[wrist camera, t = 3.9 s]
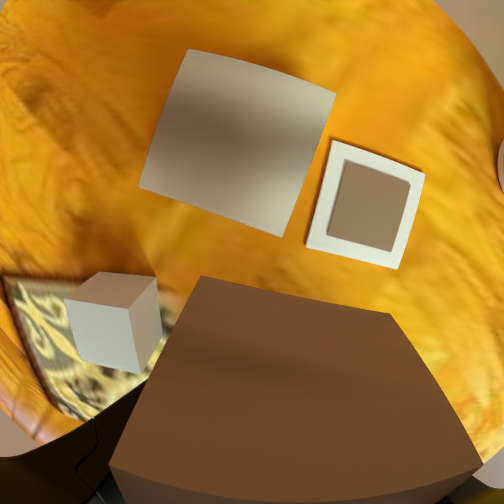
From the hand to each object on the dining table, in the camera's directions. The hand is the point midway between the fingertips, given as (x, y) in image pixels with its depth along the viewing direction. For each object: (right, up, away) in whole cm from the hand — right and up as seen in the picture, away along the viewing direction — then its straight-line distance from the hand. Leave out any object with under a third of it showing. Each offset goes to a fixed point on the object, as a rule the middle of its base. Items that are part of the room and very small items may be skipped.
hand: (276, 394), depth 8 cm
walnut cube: (0, 0, +1) cm, 1 cm away
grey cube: (-10, 0, +12) cm, 16 cm away
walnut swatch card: (+7, +7, +9) cm, 14 cm away
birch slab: (-1, +11, +9) cm, 14 cm away
